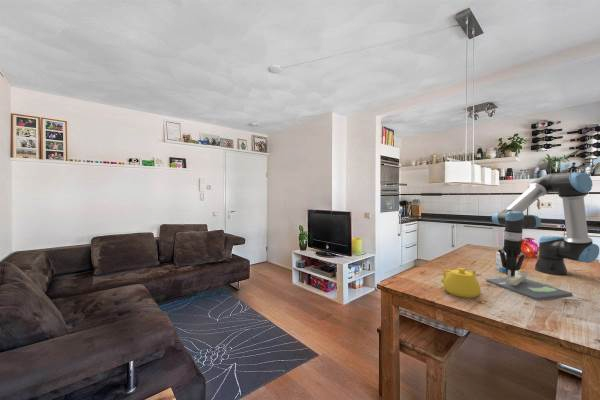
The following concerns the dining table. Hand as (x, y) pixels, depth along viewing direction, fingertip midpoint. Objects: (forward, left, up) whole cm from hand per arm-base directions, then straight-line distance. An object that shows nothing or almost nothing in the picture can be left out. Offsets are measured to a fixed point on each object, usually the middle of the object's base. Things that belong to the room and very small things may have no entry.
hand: (509, 281), depth 142 cm
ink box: (-25, -22, -3) cm, 33 cm away
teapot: (+32, -1, -3) cm, 32 cm away
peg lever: (-3, +1, -1) cm, 4 cm away
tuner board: (-6, +4, -3) cm, 8 cm away
